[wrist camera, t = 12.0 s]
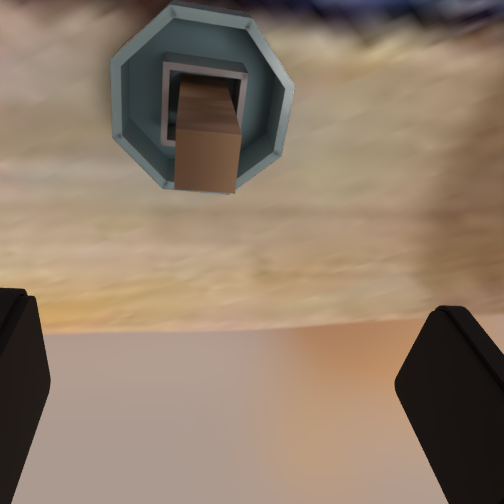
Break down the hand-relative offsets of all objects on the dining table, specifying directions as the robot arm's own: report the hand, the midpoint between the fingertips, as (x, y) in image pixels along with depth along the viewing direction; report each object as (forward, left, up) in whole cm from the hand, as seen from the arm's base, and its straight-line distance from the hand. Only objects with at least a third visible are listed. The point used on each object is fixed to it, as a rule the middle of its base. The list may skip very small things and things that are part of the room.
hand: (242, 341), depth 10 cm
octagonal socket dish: (+1, 0, -24) cm, 24 cm away
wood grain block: (+1, 0, -24) cm, 24 cm away
